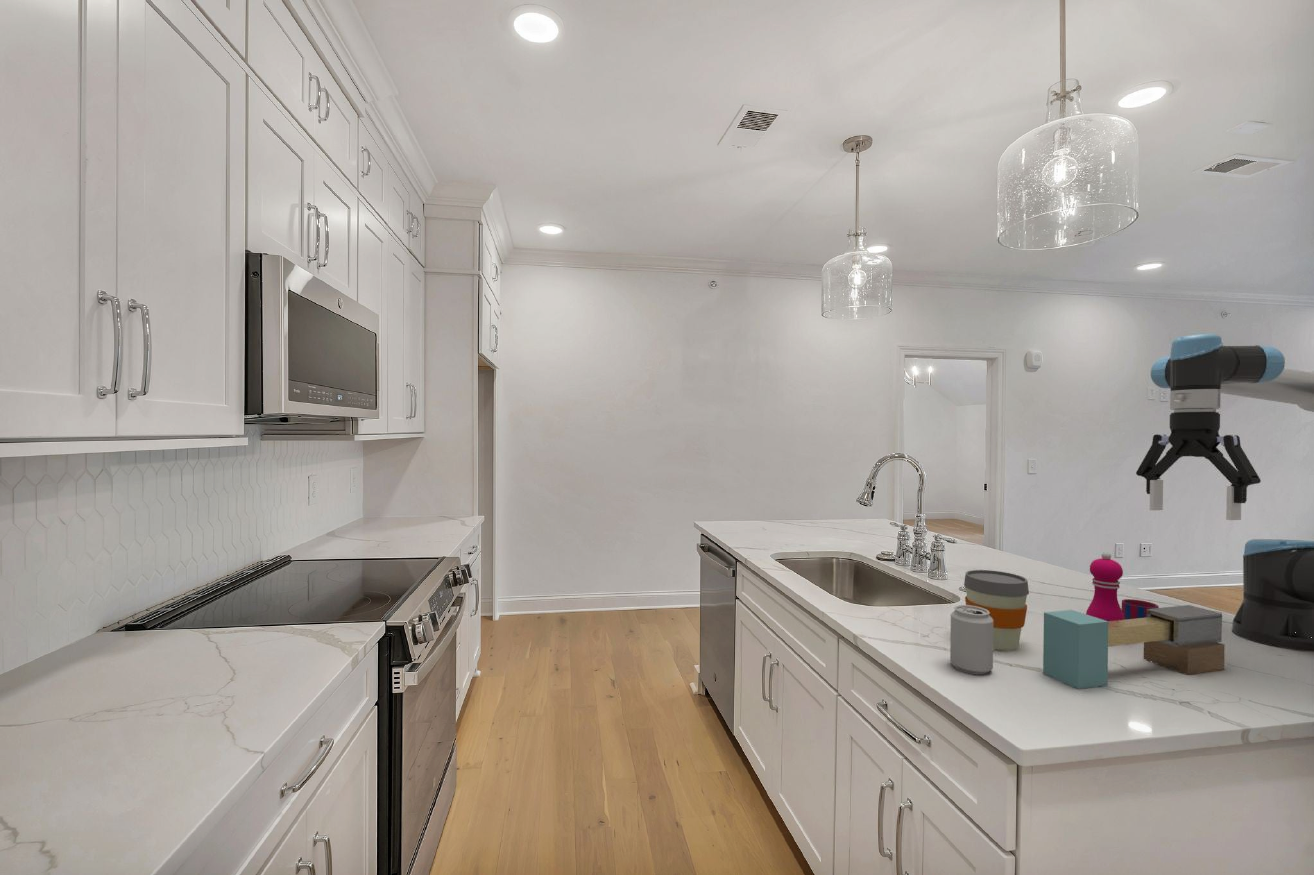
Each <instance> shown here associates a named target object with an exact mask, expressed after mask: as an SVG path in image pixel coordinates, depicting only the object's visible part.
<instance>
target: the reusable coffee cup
mask: <svg viewBox="0 0 1314 875" xmlns="http://www.w3.org/2000/svg"><path fill="white" fill-rule="evenodd" d="M1028 582H1029V580H1028V579H1027V578H1026V577H1024V576H1021V575H1020V574H1019V575H1018V574H1016V573H1011V572H1005V571H999V570H990V569H974V570H973V569H972V570H968V571H965V576H964V583H963V586H964V587H965V591H966V596H965V597H964V600H965V605H970V606H977V607H981V608H984V609H986V610H988V611H989V612H990V614H989V616H990V617H991V618H992V619H993V650H996V649H997V650H996V651H1005V650H1009V651H1015V650H1018V648H1019V646H1020V640H1021V633H1022V629H1023V628H1024V627H1025V624H1026V623H1025V622H1026V616H1027V611H1028V605H1027V603H1026V602H1027V596H1028V595H1029V594H1030V592H1029V583H1028Z"/></svg>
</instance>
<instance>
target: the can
mask: <svg viewBox="0 0 1314 875" xmlns="http://www.w3.org/2000/svg"><path fill="white" fill-rule="evenodd" d="M989 614H990V612H989V611H988V610H986V609H984V608H981V607H977V606H970V605H966V604H959V605H955V606H954V610H953V611H952V612H951V613H950V644H949V645H950V651H949V652H950V654H949V655H950V657H949V658H950V659H949V660H950V662H951V664H952V665H953V666H954V667H955V668H956V669H957V670H958V671H961V672H964V673H968V674H971V675H985V674H988V672H991V671H992V670H993V668H994V649H993V619H992V618H991V617H990V616H989Z"/></svg>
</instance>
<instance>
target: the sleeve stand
mask: <svg viewBox="0 0 1314 875" xmlns="http://www.w3.org/2000/svg"><path fill="white" fill-rule="evenodd" d="M1156 616H1158V617H1162V618H1165V619H1169V620H1172V621H1174V639H1169V640H1161V641H1152V642H1144V643H1143V660H1145V659H1146V660H1145V661H1148V662H1151V661H1152V663H1154V664H1156V663H1157V664H1156V665H1159V666H1162V667H1164V666H1165V668H1168V669H1171V670H1173V671H1176V672H1179V673H1182V674H1184V675H1188V676H1189V675H1190V676H1191V675H1197V674H1205V673H1211V672H1218V671H1225V644H1224V643H1222V638H1223V637H1222V636H1223V631H1222V630H1223V628H1222V627H1223V625H1222V624H1223V613H1221V612H1219V611H1218V612H1217V611H1213V610H1209V609H1207V608H1202V607H1198V606H1194V605H1189V604H1185V605H1177V606H1176V605H1175V606H1166V607H1159V608H1154V609H1147V615H1146V618H1147V617H1156Z"/></svg>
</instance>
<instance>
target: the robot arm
mask: <svg viewBox="0 0 1314 875" xmlns="http://www.w3.org/2000/svg"><path fill="white" fill-rule="evenodd" d="M1285 365H1286V358H1285V356H1284V354H1283V353H1282V352H1281V351H1280V350H1279V349H1277V348H1276V347H1272V346H1264V345H1259V344H1257V345H1224V343H1223V342H1222V336H1220V335H1218V334H1214V333H1205V334H1204V333H1201V334H1191V335H1185V336H1184V335H1183V336H1180V337H1176V338H1175V339H1174V340H1172V341H1171V348H1170V355H1169V356H1165V357H1161V358H1159V359H1157V360H1156V361H1155V362H1154V363H1153V364H1152V366H1151V370H1150V379H1151V380H1152V382H1153V384H1154V385H1155V386H1157V387H1158V388H1161V389H1170V390H1169V391H1170V396H1169V408H1170V410H1171V411H1173V412H1171V413H1170V414H1169V429H1170V435H1167V434H1161V433H1160V434H1154V435H1153V436H1152V442H1151V446H1150V447H1149V449H1148V451H1147V452H1146V454H1145V456H1144V458H1143V460H1142V461H1141V463H1140V465H1139V467H1138V468H1137V470H1136V472H1135V473H1136V475H1137V476H1138V477H1143V478H1144V479H1145V482H1146V484H1145V485H1146V486H1145V487H1146V489H1145V492H1146V494H1147V495H1149V511H1163V510H1164V506H1163V505H1164V480H1163V479H1161V477H1162V476H1163V475H1164V473H1166V472H1167V471H1168V470H1169V469H1170V468H1171V467H1172V466H1173V465H1174V464H1175V463H1177V461H1178V460H1179V459H1180V458H1182V457H1195V458H1205V459H1206V460H1208V461H1209V462H1210V463H1211V464H1212V465H1213V466H1214V467H1215V468H1216V469H1217V470H1218V472H1220V473H1221V474H1222V475H1223V476H1224V477H1225V478H1226V480H1227V481H1228V482H1229V483H1230V485H1227V486H1226V509H1225V510H1226V513H1225V514H1226V516H1225V517H1226V520H1227V521H1240V520H1242V504H1246V502H1247V500H1248V499H1247V498H1248V497H1247V492H1248V489H1247V488H1248V487H1249V486H1252V485H1256V484H1257V485H1258V484H1261V481H1262V480H1261V477H1259V475H1258V473H1257V471H1256V470H1255V468H1254V466H1253V465H1252V463H1251V461H1250V460H1249V458H1248V456H1247V455H1246V454H1247V453H1245V451H1244V449H1243V448H1242V446H1241V439H1240V436H1239V435H1237V434H1225V435H1222V436H1221V435H1220V433H1219V431H1220V429H1221V413H1219V412H1217V410H1220V409H1221V394H1225V395H1232V396H1238V397H1243V398H1244V397H1245V398H1252V399H1258V400H1263V401H1264V400H1265V401H1270V402H1275V403H1276V402H1277V403H1285V404H1290V405H1297V407H1299V408H1300V409H1302V410H1304V411H1308V412H1313V413H1314V370H1313V371H1304V370H1297V369H1292V368H1291V369H1290V368H1285ZM1168 444H1170V445H1171V447H1170V448H1169V449H1168V450H1167V451H1166V453H1165V455H1163V453H1164V450H1166V448H1167V445H1168ZM1219 445H1221V446H1223V447H1224V450H1225V451H1226V453H1227V455H1228V457H1229V458H1230V460H1231V462H1232V463H1233V464H1231V463H1230V461H1229V460H1228V459H1227V458H1226V457H1224V454H1223V453H1222V451H1221V450H1220V449H1219V448H1218V446H1219ZM1162 455H1163V457H1162V458H1161V456H1162ZM1160 458H1161V459H1160ZM1159 459H1160V460H1159ZM1242 559H1243V560H1242V561H1243V563H1242V564H1243V566H1242V567H1243V569H1242V574H1243V576H1242V578H1243V579H1242V580H1243V582H1242V583H1243V588H1242V589H1243V594H1242V596H1243V599H1242V602H1241V603H1240V606H1239V608H1238V610H1237V612H1236V614H1235V616H1234V618H1233V619H1232V623H1231V624H1232V626H1231V631H1232V632H1233V633H1234V634H1235V635H1237V636H1239V637H1242V638H1245V639H1246V640H1247V639H1248V640H1250V641H1254V642H1256V643H1257V642H1258V643H1262V644H1265V645H1269V646H1274V647H1279V648H1284V649H1290V650H1297V651H1307V652H1309V651H1310V652H1314V540H1302V539H1301V540H1300V539H1277V538H1276V539H1273V538H1272V539H1270V538H1256V539H1255V538H1253V539H1250V540H1248V541H1246V542H1245V544H1244V551H1243V555H1242ZM1295 632H1296V633H1295ZM1311 637H1312V638H1311Z"/></svg>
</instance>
